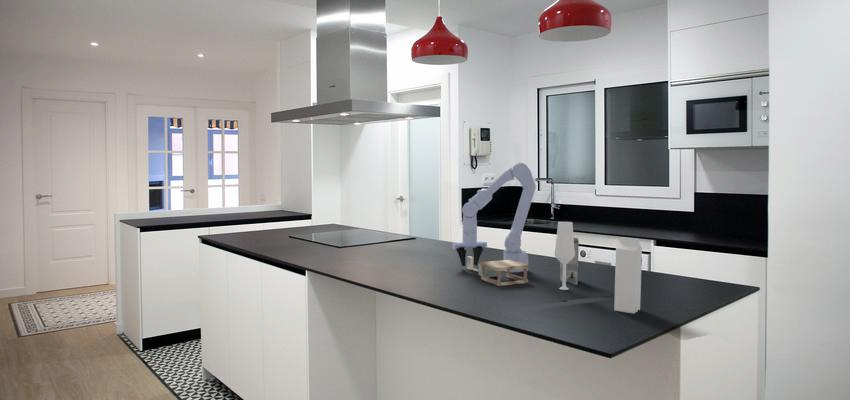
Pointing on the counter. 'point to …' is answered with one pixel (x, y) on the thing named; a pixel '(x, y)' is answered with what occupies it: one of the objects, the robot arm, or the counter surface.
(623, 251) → the milk
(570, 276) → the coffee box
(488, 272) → the block
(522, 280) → the shelf
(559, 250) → the champagne flute
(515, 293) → the counter surface
